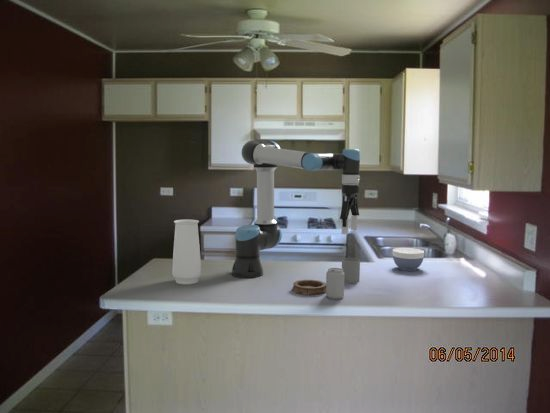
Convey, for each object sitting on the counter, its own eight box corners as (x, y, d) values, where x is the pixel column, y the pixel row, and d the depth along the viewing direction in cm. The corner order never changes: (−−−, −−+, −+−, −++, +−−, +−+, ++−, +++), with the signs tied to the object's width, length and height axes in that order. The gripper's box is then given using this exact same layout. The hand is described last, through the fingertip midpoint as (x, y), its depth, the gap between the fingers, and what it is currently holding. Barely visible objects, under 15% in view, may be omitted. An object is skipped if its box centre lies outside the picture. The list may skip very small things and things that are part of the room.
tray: (286, 292, 225) (286, 285, 225) (301, 284, 239) (301, 277, 238) (319, 297, 219) (319, 290, 218) (332, 288, 232) (332, 282, 232)
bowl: (427, 267, 274) (428, 249, 273) (418, 273, 261) (418, 254, 260) (397, 263, 283) (398, 246, 282) (387, 269, 270) (388, 251, 269)
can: (324, 294, 223) (324, 266, 221) (341, 294, 223) (342, 266, 222) (327, 299, 215) (328, 271, 214) (345, 299, 216) (346, 271, 215)
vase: (205, 283, 239) (205, 222, 235) (178, 286, 232) (177, 224, 229) (194, 276, 250) (194, 218, 246) (168, 280, 243) (167, 220, 240)
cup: (358, 283, 241) (359, 262, 240) (340, 282, 243) (341, 261, 242) (359, 279, 250) (360, 258, 249) (342, 278, 251) (342, 257, 250)
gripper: (350, 186, 219) (349, 236, 221) (366, 182, 241) (365, 228, 244) (333, 185, 222) (332, 235, 224) (350, 182, 245) (349, 227, 247)
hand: (349, 232), depth 234 cm, fingers open, 13 cm apart
